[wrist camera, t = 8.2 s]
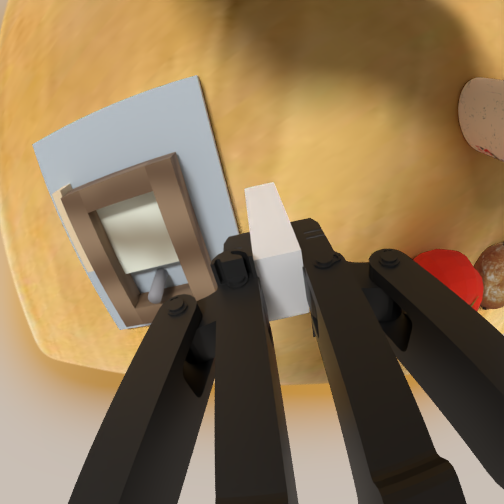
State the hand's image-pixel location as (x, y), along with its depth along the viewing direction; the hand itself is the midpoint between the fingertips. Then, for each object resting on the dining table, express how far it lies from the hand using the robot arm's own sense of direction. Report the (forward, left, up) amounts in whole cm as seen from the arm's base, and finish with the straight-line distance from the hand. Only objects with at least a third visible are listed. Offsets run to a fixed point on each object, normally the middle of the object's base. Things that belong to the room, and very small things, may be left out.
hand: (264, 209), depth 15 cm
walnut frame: (+4, -10, -9) cm, 14 cm away
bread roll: (+20, +32, -11) cm, 39 cm away
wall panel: (+3, -10, -10) cm, 15 cm away
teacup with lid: (-2, +28, -11) cm, 30 cm away
